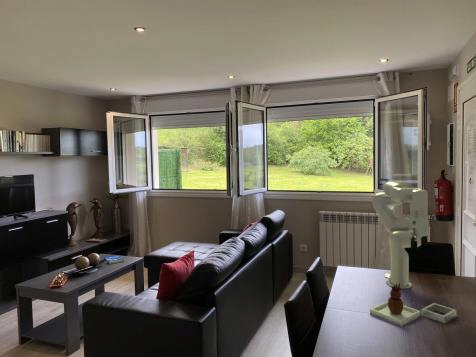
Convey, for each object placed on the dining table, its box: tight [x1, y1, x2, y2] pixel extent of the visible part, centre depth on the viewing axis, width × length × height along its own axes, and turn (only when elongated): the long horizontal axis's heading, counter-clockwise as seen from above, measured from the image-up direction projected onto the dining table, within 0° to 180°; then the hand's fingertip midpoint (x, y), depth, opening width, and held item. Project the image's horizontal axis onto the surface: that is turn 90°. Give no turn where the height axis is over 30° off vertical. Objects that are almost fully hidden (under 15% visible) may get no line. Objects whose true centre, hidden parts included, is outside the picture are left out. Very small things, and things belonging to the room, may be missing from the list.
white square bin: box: [420, 302, 457, 324], centre depth 170 cm, size 10×11×3 cm
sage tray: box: [369, 300, 421, 327], centre depth 172 cm, size 16×16×2 cm
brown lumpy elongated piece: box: [387, 283, 404, 315], centre depth 171 cm, size 7×6×15 cm
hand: (419, 246), depth 186 cm, fingers open, 9 cm apart
